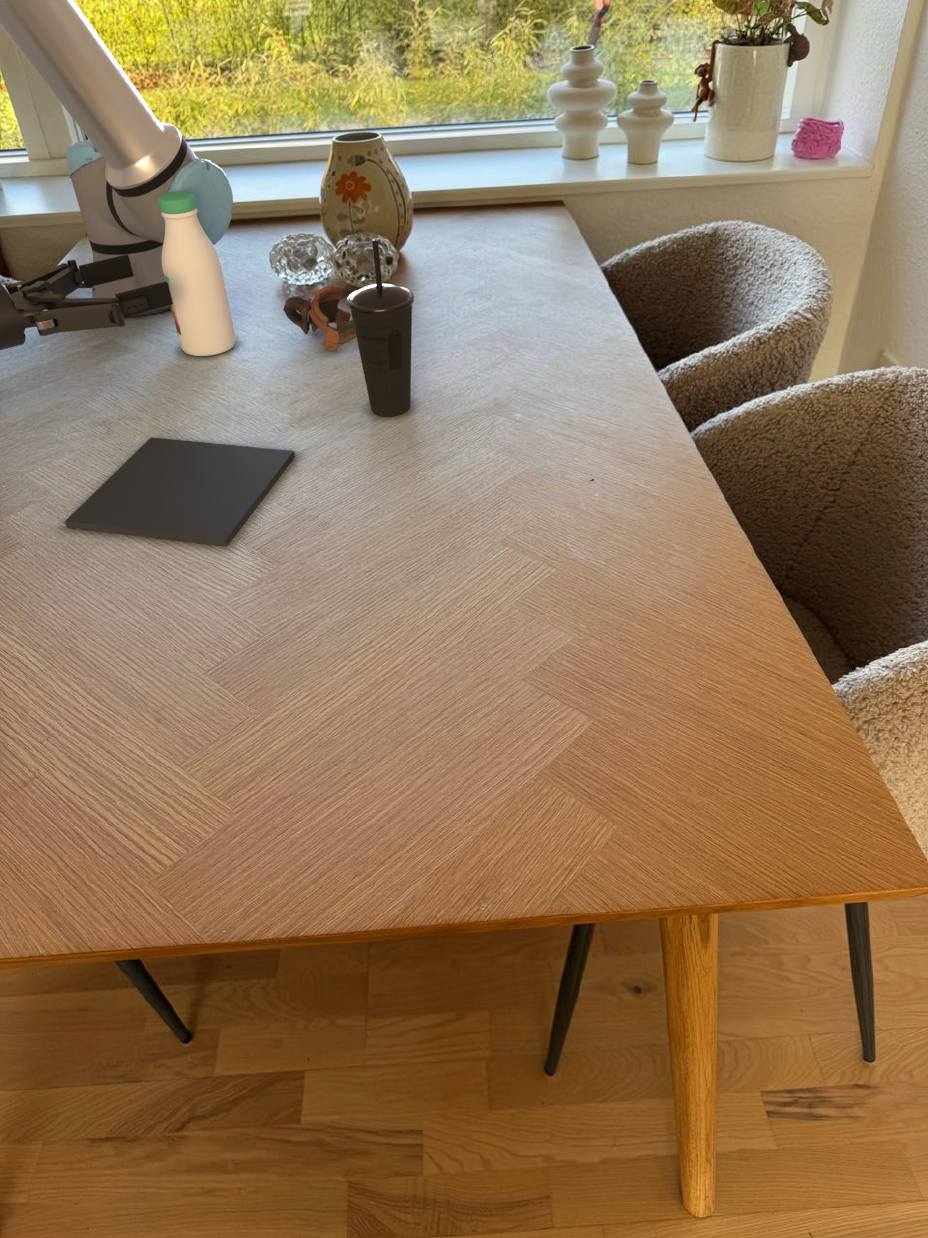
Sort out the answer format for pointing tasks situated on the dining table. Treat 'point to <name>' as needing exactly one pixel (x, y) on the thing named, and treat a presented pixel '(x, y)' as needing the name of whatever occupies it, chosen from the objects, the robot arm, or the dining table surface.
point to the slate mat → (183, 491)
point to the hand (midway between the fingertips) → (149, 278)
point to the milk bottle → (194, 279)
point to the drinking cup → (384, 341)
